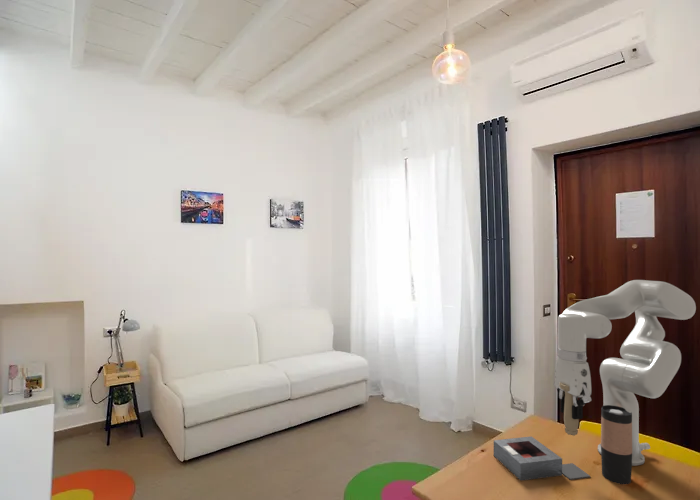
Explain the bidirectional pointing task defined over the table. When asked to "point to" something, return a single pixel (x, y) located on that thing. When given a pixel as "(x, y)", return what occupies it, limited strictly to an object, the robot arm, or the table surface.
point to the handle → (569, 412)
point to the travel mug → (616, 444)
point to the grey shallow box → (531, 467)
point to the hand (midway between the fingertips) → (571, 414)
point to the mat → (573, 472)
